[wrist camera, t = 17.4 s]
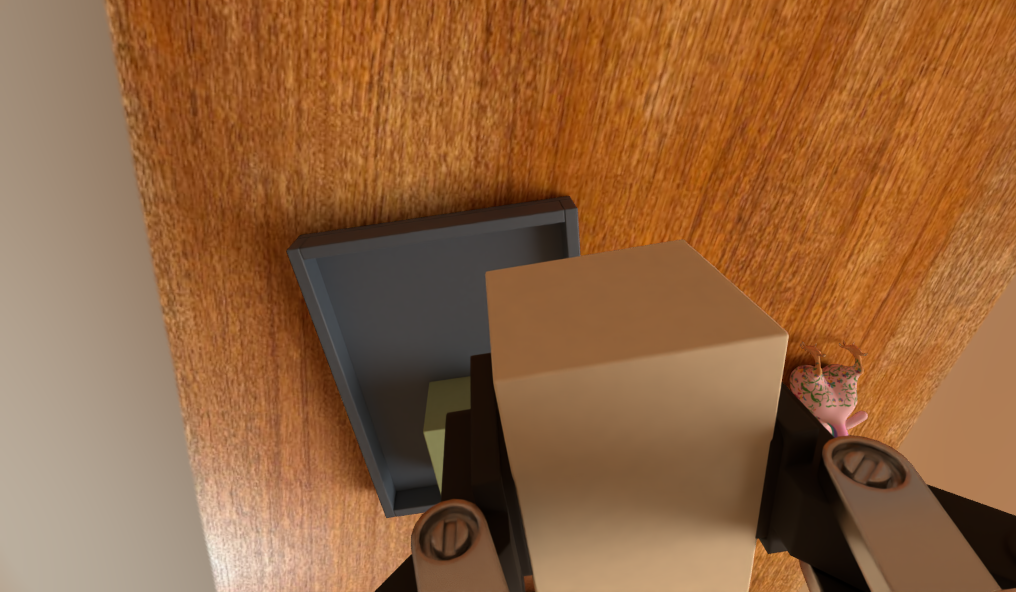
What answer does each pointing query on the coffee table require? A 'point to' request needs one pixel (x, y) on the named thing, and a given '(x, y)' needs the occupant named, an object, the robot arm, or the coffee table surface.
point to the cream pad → (635, 417)
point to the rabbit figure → (830, 390)
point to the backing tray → (415, 319)
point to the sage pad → (443, 416)
